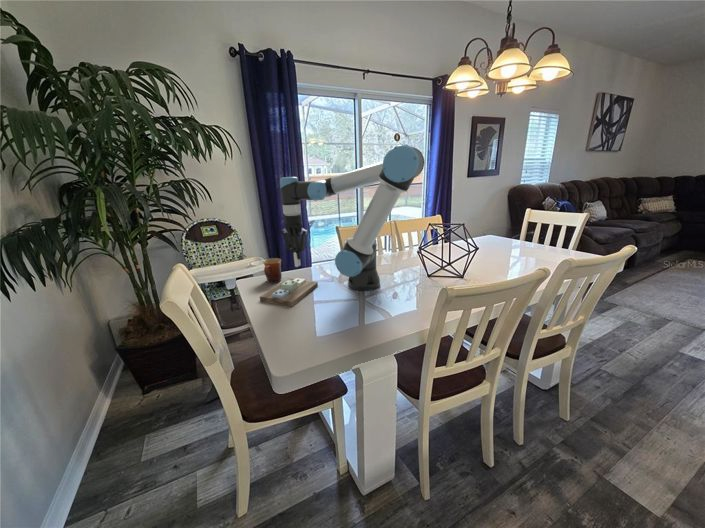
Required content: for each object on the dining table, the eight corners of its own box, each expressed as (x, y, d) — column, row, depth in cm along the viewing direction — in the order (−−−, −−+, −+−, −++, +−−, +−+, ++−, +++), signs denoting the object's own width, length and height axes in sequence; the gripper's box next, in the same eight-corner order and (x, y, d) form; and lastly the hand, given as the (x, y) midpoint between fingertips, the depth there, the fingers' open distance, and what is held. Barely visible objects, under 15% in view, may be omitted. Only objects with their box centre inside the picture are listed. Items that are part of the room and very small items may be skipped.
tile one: (306, 285, 136) (305, 278, 135) (300, 289, 132) (300, 282, 131) (296, 284, 138) (296, 277, 137) (291, 288, 133) (290, 281, 132)
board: (317, 286, 136) (317, 282, 135) (292, 306, 116) (292, 302, 116) (288, 281, 141) (288, 278, 140) (260, 300, 122) (259, 296, 121)
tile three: (289, 297, 124) (289, 290, 123) (283, 302, 119) (282, 294, 118) (280, 295, 126) (279, 288, 124) (273, 300, 121) (272, 293, 120)
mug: (270, 276, 149) (268, 257, 145) (286, 277, 147) (284, 258, 144) (258, 285, 137) (256, 265, 134) (275, 286, 136) (273, 266, 132)
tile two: (298, 287, 129) (297, 280, 128) (291, 292, 125) (291, 284, 124) (288, 286, 131) (287, 279, 130) (282, 290, 127) (281, 283, 126)
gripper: (309, 213, 125) (314, 264, 132) (284, 212, 129) (290, 262, 137) (301, 215, 118) (306, 269, 126) (274, 215, 123) (281, 267, 130)
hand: (297, 265), depth 131 cm, fingers closed
